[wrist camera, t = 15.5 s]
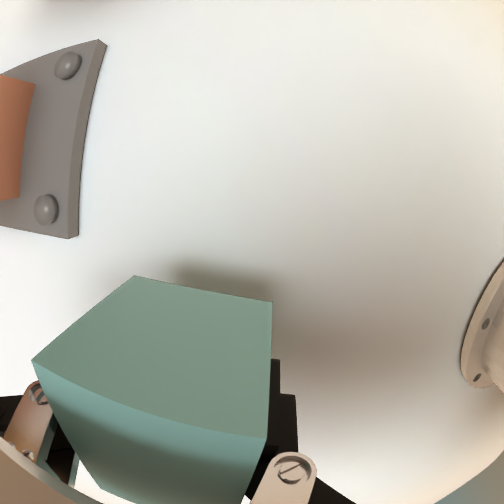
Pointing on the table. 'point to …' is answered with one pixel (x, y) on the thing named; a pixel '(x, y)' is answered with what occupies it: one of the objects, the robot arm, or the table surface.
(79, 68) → the baseplate
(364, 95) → the table surface
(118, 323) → the teal brick
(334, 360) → the table surface
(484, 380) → the robot arm
